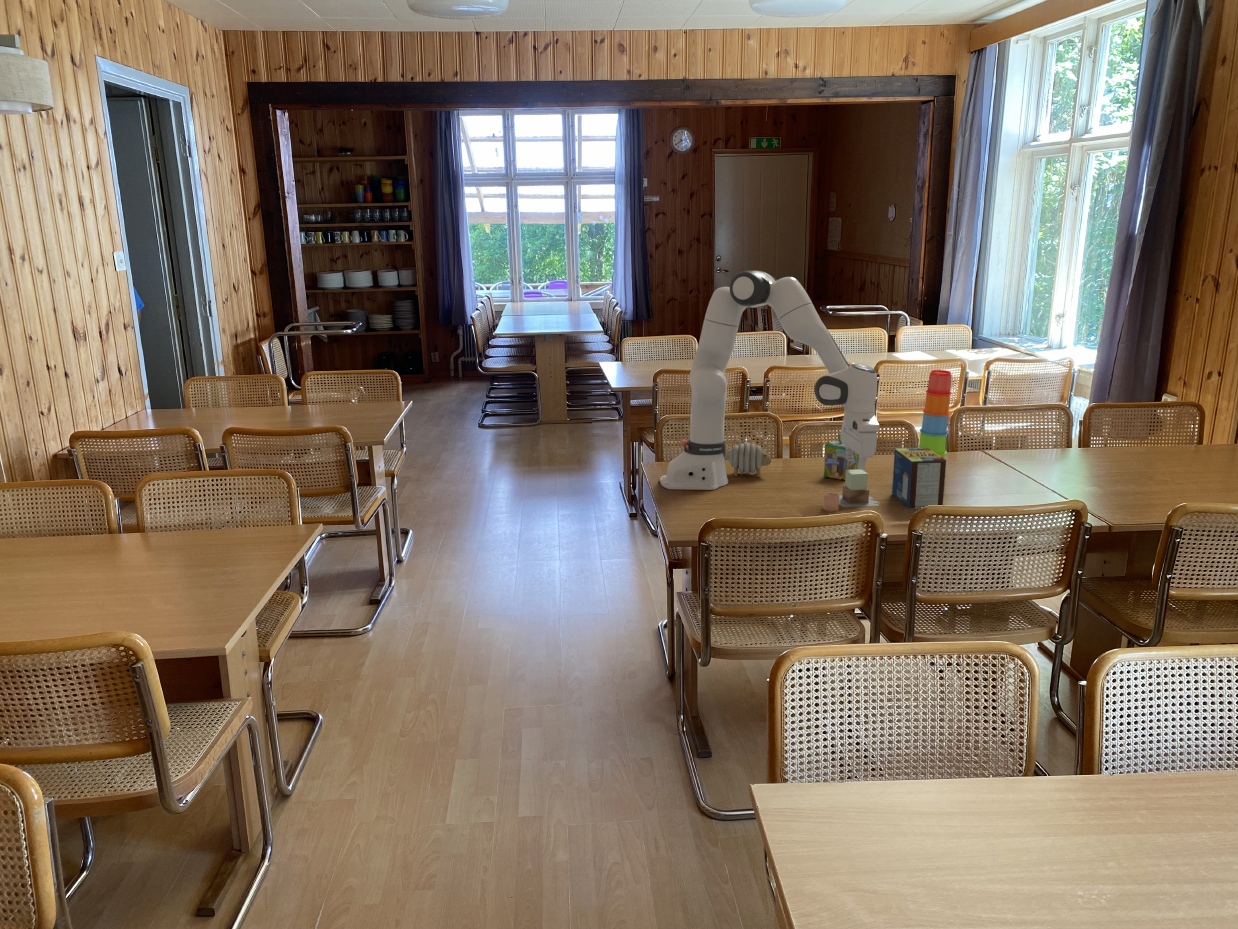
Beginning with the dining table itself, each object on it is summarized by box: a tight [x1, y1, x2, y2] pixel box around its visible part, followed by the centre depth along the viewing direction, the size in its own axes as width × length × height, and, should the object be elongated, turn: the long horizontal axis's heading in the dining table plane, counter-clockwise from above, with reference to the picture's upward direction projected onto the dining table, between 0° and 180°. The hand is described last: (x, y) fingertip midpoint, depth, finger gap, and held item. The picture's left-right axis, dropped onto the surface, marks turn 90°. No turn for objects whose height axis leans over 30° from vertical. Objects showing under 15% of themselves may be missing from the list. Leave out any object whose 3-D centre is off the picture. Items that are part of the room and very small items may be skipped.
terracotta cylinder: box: [822, 492, 840, 512], centre depth 265 cm, size 4×4×5 cm
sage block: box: [844, 469, 869, 490], centre depth 272 cm, size 5×5×5 cm
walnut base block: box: [841, 484, 870, 504], centre depth 273 cm, size 6×6×4 cm
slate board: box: [838, 494, 879, 508], centre depth 273 cm, size 12×12×1 cm
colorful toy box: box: [823, 432, 860, 480], centre depth 300 cm, size 9×9×15 cm
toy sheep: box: [724, 442, 772, 478], centre depth 304 cm, size 11×17×11 cm, turn 85°
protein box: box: [891, 447, 947, 510], centre depth 270 cm, size 10×15×16 cm
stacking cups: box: [917, 369, 953, 459], centre depth 301 cm, size 10×10×35 cm
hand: (855, 464), depth 270 cm, fingers open, 8 cm apart
